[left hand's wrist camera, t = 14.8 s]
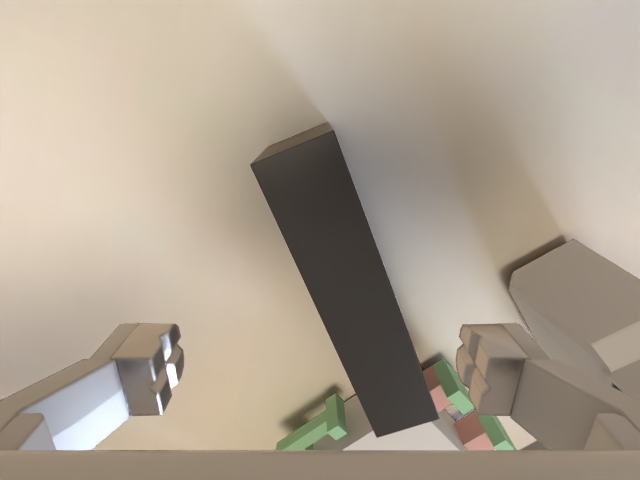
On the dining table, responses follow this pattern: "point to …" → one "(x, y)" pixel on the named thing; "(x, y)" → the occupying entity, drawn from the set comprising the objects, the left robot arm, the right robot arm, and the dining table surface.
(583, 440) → the left robot arm
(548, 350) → the electronic device
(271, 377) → the dining table surface
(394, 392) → the bar
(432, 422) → the decorative block
